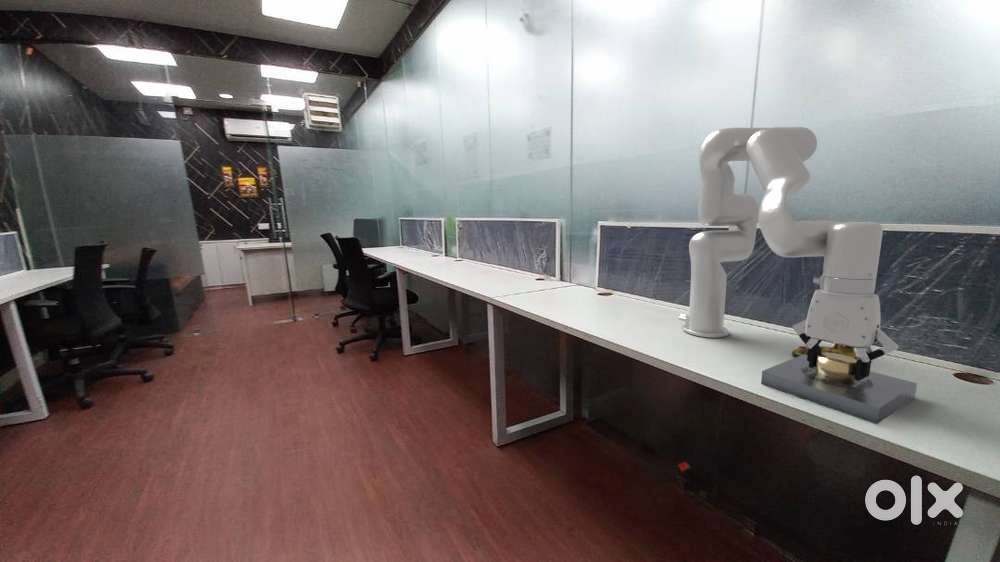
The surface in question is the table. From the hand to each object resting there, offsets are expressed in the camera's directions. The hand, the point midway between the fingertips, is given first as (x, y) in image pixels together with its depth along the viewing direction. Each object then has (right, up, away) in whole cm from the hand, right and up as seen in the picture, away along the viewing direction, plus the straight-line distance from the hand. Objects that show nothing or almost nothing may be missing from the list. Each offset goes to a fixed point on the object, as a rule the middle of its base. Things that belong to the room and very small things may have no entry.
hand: (836, 371), depth 72 cm
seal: (+14, -1, +18) cm, 23 cm away
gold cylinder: (0, -4, +1) cm, 4 cm away
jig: (0, -4, +1) cm, 4 cm away
